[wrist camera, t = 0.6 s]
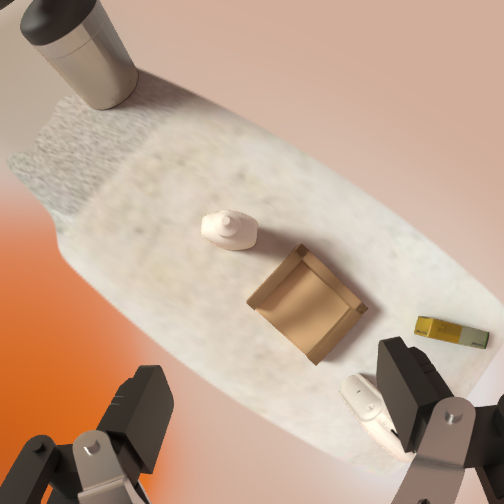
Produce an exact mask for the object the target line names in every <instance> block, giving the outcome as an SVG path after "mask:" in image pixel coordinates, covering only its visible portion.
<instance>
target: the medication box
mask: <svg viewBox="0 0 504 504" xmlns="http://www.w3.org/2000/svg"><path fill="white" fill-rule="evenodd" d="M414 334H417V335H420V336H424V337H428V338H432V339H437V340H441V341H446V342H451V343H456V344H461V345H465V346H470V347H475V348H481V349H486V346H487V342H488V338H489V332H485V331H482V330H478V329H474V328H469V327H465V326H462V325H458V324H454V323H450V322H446V321H442V320H438V319H434V318H430V317H424V316H419V317H418V320H417V323H416V327H415V331H414Z"/></svg>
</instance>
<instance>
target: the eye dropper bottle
mask: <svg viewBox="0 0 504 504" xmlns="http://www.w3.org/2000/svg"><path fill="white" fill-rule="evenodd" d="M257 231H258V223H257V221H256V220H255V219H254V218H252V217H250V216H248V215H246V214H243V213H240V212H236V211H231V210H223V211H218V212H214V213H211V214H208V215H206V216H205V217H204V218H203V220H202V227H201V233H202V236H203V237H204V238H205V239H206V240H207V241H209V242H210V243H212V244H213V245H215V246H217V247H220V248H223V249H228V250H243V249H247V248H251V247H253V246H254V245H255V243H256V239H257Z"/></svg>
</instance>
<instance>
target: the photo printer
mask: <svg viewBox="0 0 504 504" xmlns="http://www.w3.org/2000/svg"><path fill="white" fill-rule="evenodd" d="M339 394H340V396H341V398H342V399H343V401H344V402H345V404H346V405H347V406H348V408H349V409H350V411H351V412H352V413H353V415H354V416H355V417H356V419H357V420H358V421H359V423H360V424H361V425H362V427H363V428H364V429H365V430H366V432H367V433H368V434H369V435H370V436H371V437H372V438H373V439H374V440H375V441H376V442H377V443H378V444H379V445H380V446H381V447H382V448H383V449H385V450H386V451H387V452H388V453H389V454H390V455H392V456H393V457H394V458H396V459H397V460H399V461H402V462H411V461H413V459H414V458H415V456H416V451H412V452H408V453H405V452H404V450H403V447H402V444H401V442H400V439H399V437H398V434H397V432H396V429H395V427H394V424H393V422H392V419H391V417H390V414H389V412H388V410H387V407H386V405H385V402H384V400H383V398H382V395H381V393H380V391H379V390H378V389H377V388H376V387H375V386H374V385H372V383H370V382H369V381H368V380H367V379H366V378H365V377H363V376H362V375H360V374H357V375H352V376H350V377H348V378H347V379H345V380H344V381H343V383H342V384H341V387H340V390H339Z"/></svg>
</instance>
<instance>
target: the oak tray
mask: <svg viewBox="0 0 504 504" xmlns="http://www.w3.org/2000/svg"><path fill="white" fill-rule="evenodd" d="M247 304H248V305H249V306H250V307H251V308H252V309H254V310H255V309H256V310H257V311H258V312H259V313H260V314H261V315H262V316H263V317H264V318H265V319H266V320H268V321H269V322H270V323H271V324H272V325H273V326H274V327H275V328H276V329H277V330H279V331H280V332H281V333H282V334H283V335H284V336H285V337H286V338H287V339H289V340H290V341H291V342H292V343H293V344H294V345H295V346H296V347H298V348H299V349H300V350H301V351H302V352H303V353H304V354H305V355H306V356H307V357H308V359H309V360H310V361H311V362H312V363H314V364H315V365H317V364H318V363H319V362H320V361H321V360H322V359H323V358H324V357H325V356H326V355H327V354H328V353H329V352H330V351H331V350H332V349H333V348H334V346H335V345H336V344H337V343H338V342H339V341H340V340H341V339H342V338H343V337H344V336H345V334H346V333H347V332H348V331H349V330H350V329H351V328H352V327H353V325H354V324H355V323H356V322H357V321H358V320H359V319H360V317H361V316H362V315H363V314H364V313H365V312H366V310H367V309H368V308H367V307H366V306H365V305H364V304H363V303H362V302H361V301H360V300H359V299H358V298H357V297H356V296H355V295H354V294H353V293H352V292H351V291H350V290H349V289H348V288H347V287H346V286H345V285H344V284H343V283H342V282H341V281H340V280H339V279H338V278H337V277H336V276H335V275H334V274H333V273H332V272H331V271H330V270H329V269H328V268H327V267H326V266H325V265H324V264H323V263H321V262H320V261H319V260H318V259H317V258H316V257H315V256H314V255H313V254H312V253H311V252H310V251H309V250H308V249H307V248H306V247H305V246H304V245H303V244H300V245H298V246H297V247H296V248H295V249H294V250H293V251H292V252H291V254H290V255H289V256H288V257H287V258H286V259H285V260H284V261H283V262H282V263H281V264H280V265H279V266H278V268H277V269H276V270H275V271H274V272H273V273H272V274H271V275H270V276H269V277H268V278H267V279H266V280H265V281H264V283H263V284H262V285H261V286H260V287H259V288H258V289H257V290H256V291H255V292H254V293H253V294H252V295H251V296H250V297H249V298H248V300H247Z"/></svg>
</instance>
